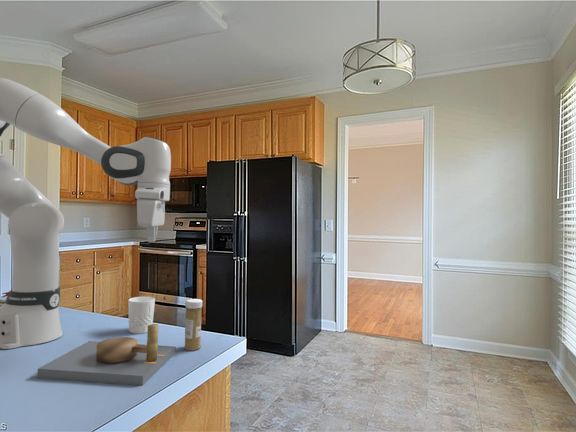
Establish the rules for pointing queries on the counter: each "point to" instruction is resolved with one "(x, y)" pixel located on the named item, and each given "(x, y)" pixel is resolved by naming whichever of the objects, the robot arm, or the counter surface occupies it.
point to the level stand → (104, 366)
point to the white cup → (140, 314)
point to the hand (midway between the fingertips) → (151, 241)
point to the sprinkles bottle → (193, 324)
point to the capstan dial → (128, 347)
